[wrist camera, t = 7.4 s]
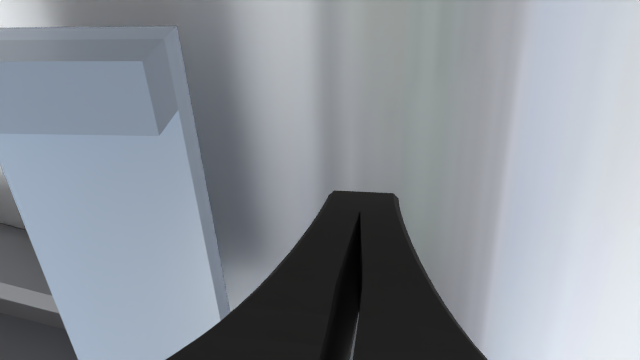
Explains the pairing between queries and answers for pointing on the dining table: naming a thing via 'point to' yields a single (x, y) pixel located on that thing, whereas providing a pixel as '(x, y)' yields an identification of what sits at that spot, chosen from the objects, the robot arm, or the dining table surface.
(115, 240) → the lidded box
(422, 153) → the dining table surface
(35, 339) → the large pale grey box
